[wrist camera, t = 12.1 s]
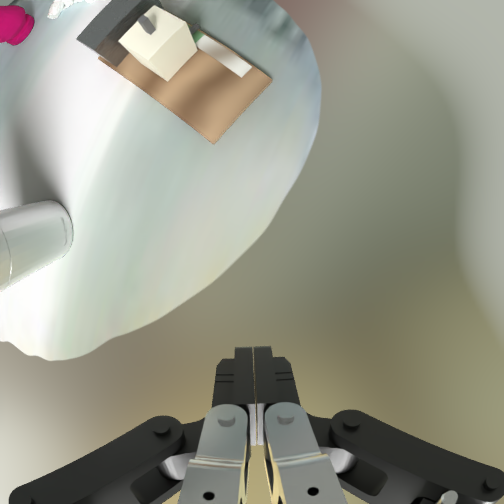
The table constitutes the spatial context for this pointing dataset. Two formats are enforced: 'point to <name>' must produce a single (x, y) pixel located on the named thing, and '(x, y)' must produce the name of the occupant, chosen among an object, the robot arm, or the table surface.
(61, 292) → the table surface
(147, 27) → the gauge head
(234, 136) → the table surface
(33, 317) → the table surface
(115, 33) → the grey rectangular block
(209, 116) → the brown wooden board
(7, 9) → the pepper mill
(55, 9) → the white creature statuette
